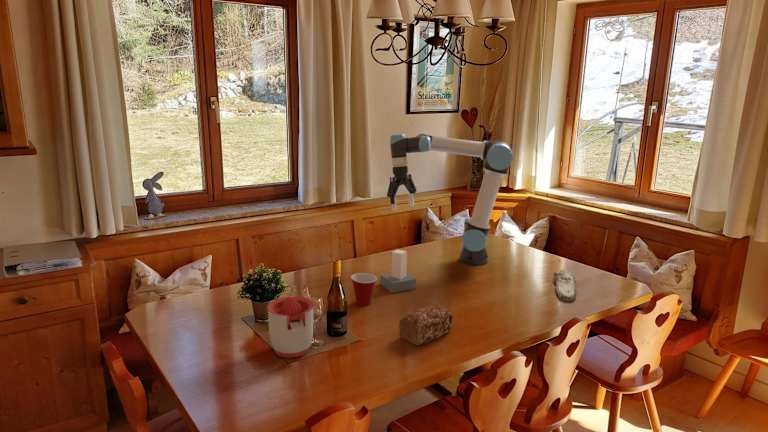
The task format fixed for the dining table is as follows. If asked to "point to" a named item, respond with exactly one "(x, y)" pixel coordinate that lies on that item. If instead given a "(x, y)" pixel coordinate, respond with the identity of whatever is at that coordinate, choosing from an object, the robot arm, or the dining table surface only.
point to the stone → (565, 285)
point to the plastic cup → (363, 287)
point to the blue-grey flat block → (397, 283)
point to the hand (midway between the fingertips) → (403, 208)
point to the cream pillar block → (399, 264)
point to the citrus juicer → (291, 325)
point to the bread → (425, 324)
